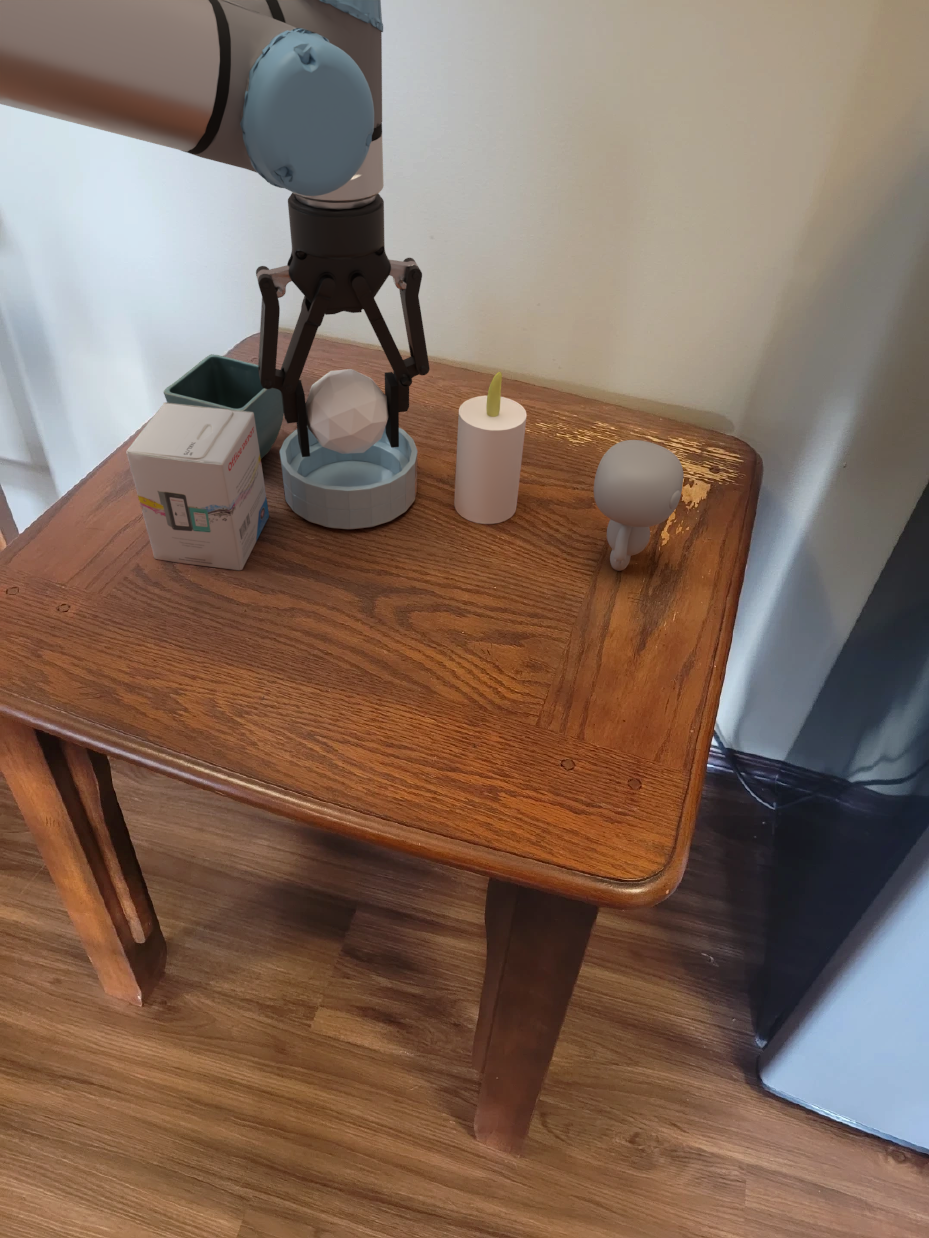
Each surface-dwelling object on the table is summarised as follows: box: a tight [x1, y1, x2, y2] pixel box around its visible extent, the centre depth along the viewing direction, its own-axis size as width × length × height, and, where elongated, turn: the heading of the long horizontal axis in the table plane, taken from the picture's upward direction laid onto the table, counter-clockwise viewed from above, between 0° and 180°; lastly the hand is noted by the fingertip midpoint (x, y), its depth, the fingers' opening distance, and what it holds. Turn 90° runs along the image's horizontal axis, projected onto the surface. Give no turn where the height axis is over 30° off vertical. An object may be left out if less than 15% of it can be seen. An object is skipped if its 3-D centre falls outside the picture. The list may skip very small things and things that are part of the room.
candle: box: [453, 371, 527, 525], centre depth 81 cm, size 6×6×15 cm
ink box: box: [125, 401, 270, 571], centre depth 76 cm, size 9×8×12 cm
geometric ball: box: [305, 368, 389, 454], centre depth 80 cm, size 8×8×8 cm
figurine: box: [593, 439, 685, 572], centre depth 76 cm, size 8×8×12 cm
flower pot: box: [162, 353, 284, 460], centre depth 87 cm, size 9×9×9 cm
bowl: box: [279, 425, 419, 530], centre depth 84 cm, size 13×13×5 cm
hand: (348, 444), depth 82 cm, fingers closed on geometric ball, 8 cm apart
